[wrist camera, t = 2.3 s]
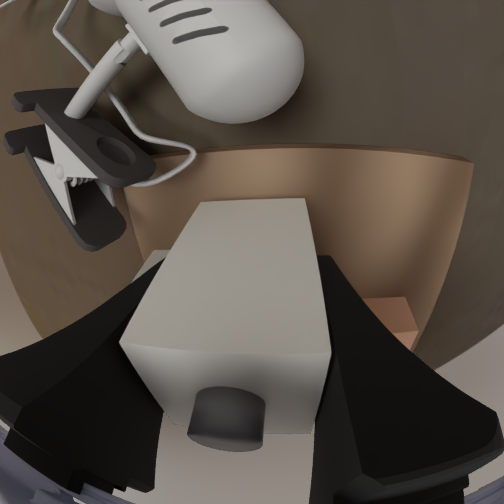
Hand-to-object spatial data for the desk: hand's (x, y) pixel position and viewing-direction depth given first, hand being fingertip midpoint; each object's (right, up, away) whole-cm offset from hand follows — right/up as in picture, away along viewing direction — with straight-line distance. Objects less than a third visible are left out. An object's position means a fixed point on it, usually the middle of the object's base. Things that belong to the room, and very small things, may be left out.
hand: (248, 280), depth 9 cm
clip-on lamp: (-6, +12, -1) cm, 14 cm away
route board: (+3, -1, +6) cm, 6 cm away
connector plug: (0, +1, +2) cm, 3 cm away
